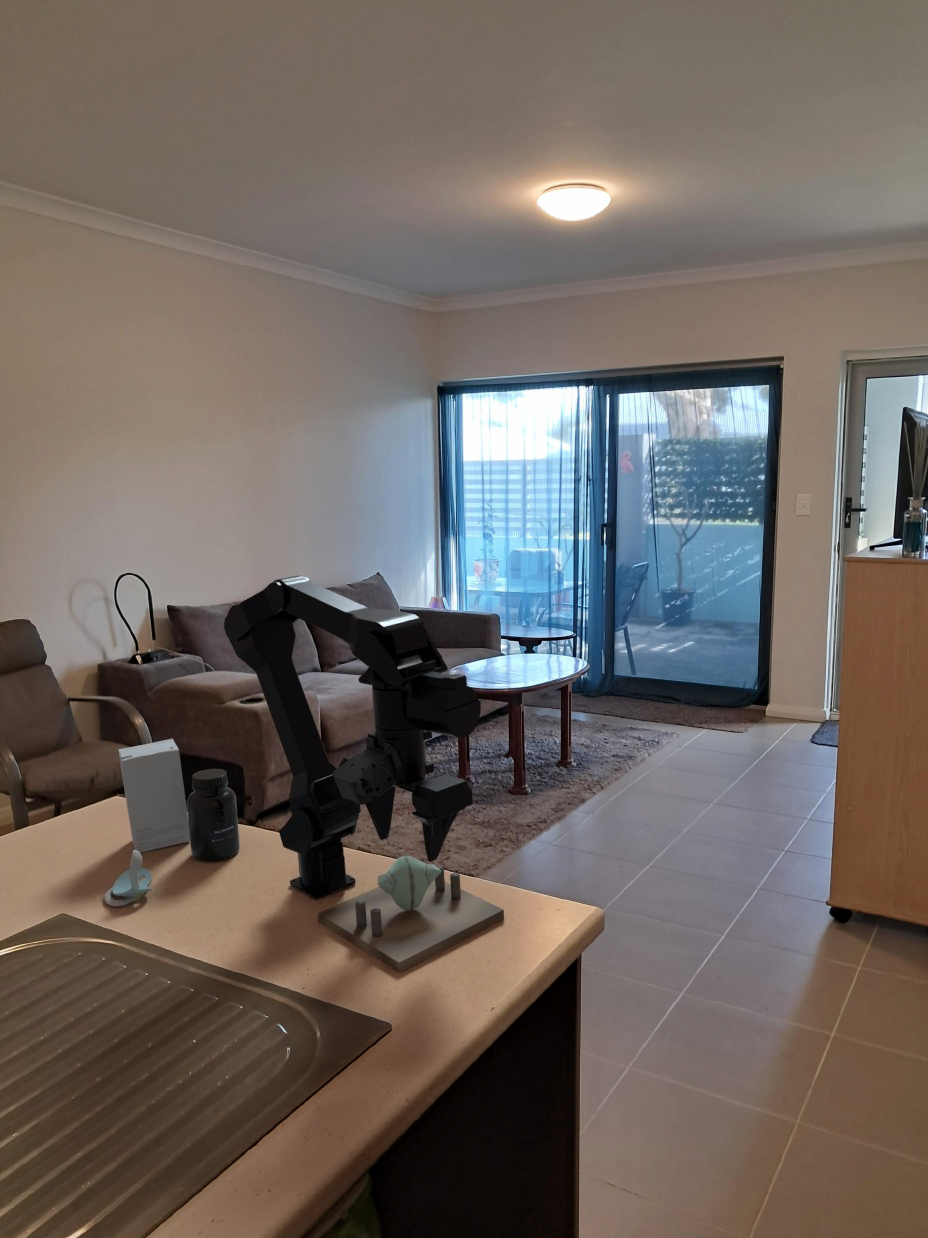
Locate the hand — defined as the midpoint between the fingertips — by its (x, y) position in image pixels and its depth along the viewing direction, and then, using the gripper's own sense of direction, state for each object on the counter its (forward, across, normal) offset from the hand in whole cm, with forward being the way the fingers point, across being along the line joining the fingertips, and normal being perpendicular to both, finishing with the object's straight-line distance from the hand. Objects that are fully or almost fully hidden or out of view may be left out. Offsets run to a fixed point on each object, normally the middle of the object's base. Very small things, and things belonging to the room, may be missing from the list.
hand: (407, 849), depth 112 cm
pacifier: (+9, -33, -22) cm, 40 cm away
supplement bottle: (+9, -36, -7) cm, 38 cm away
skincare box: (+9, -46, -11) cm, 48 cm away
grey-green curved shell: (+8, -1, 0) cm, 8 cm away
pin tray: (+9, 0, 0) cm, 9 cm away
